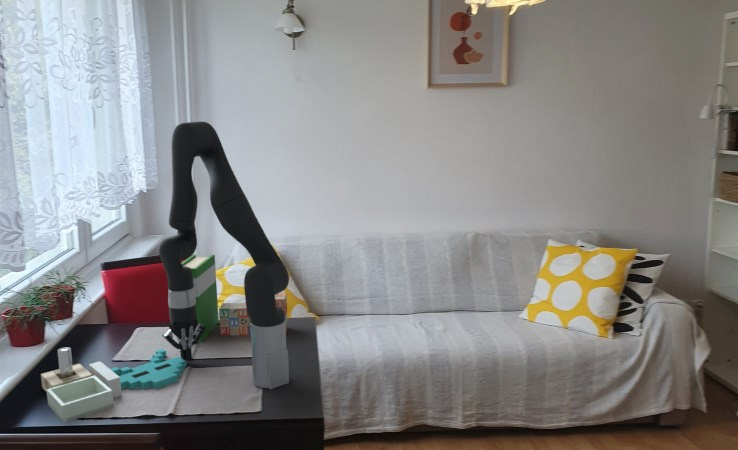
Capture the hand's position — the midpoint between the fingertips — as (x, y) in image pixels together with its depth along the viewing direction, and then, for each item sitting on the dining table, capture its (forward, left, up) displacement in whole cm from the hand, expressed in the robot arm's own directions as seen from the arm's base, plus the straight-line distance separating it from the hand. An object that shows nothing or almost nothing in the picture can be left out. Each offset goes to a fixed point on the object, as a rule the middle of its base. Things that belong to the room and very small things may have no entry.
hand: (186, 359), depth 190 cm
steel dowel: (+7, +31, -1) cm, 32 cm away
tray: (-6, +32, -1) cm, 33 cm away
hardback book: (+21, -15, -1) cm, 26 cm away
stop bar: (0, +24, -1) cm, 24 cm away
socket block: (+7, +31, -1) cm, 32 cm away
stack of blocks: (+8, -28, -1) cm, 30 cm away
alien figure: (+1, +11, -2) cm, 12 cm away
